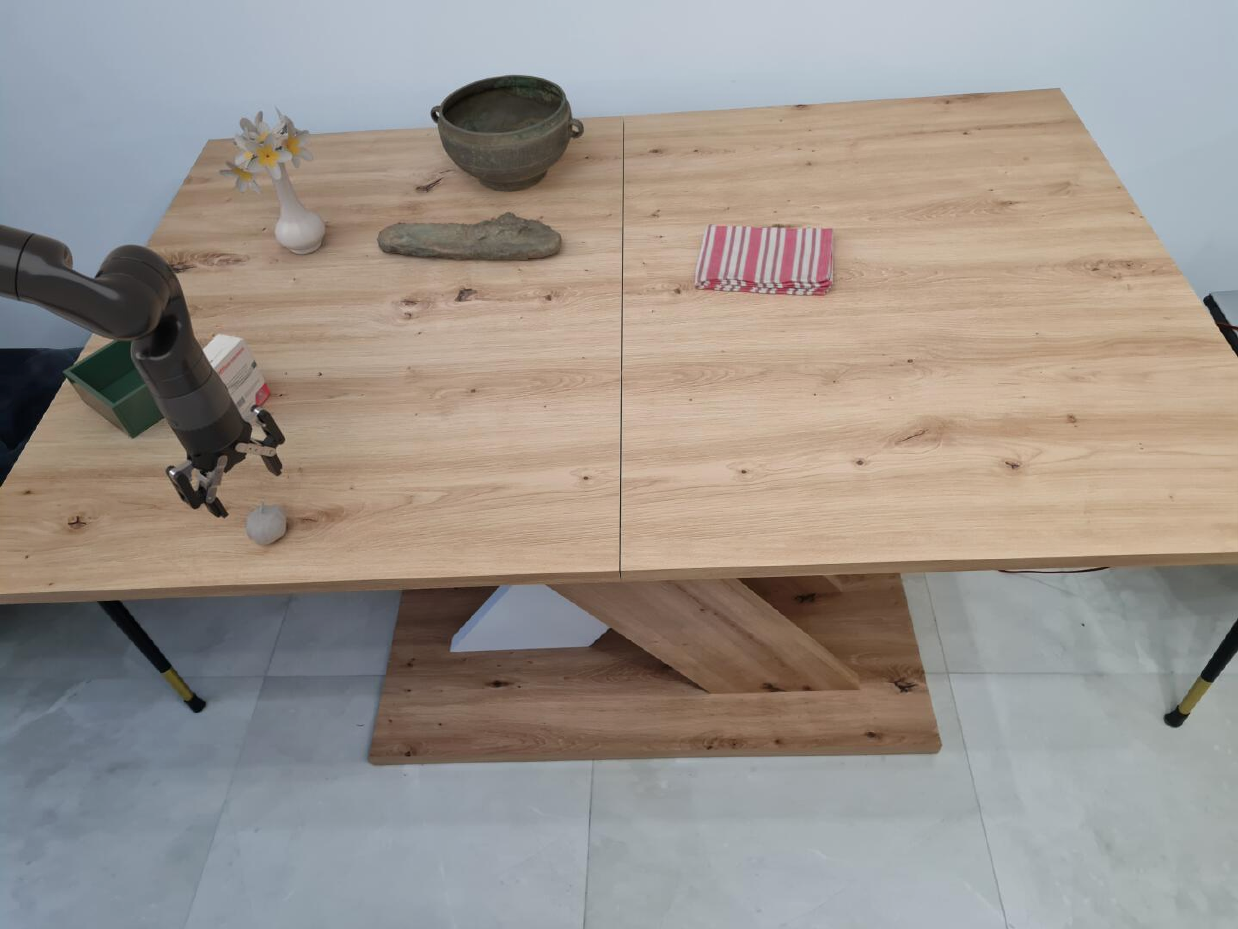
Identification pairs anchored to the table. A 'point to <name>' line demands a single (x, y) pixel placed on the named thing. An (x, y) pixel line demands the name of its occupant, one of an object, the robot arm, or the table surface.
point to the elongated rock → (473, 239)
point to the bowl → (506, 129)
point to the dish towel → (766, 260)
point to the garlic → (266, 523)
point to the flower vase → (278, 178)
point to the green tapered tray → (115, 388)
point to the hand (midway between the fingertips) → (249, 493)
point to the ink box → (237, 371)
